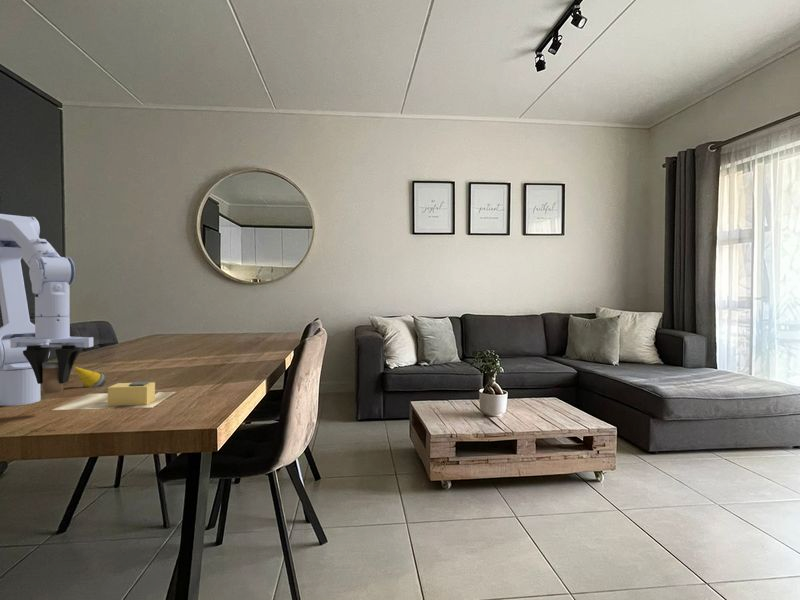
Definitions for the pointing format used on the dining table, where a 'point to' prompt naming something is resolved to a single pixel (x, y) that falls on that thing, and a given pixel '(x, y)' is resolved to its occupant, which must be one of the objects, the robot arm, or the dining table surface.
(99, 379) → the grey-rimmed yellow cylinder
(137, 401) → the stud finder
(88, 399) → the panel
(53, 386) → the brown cylindrical piece
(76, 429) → the dining table surface
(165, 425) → the dining table surface
